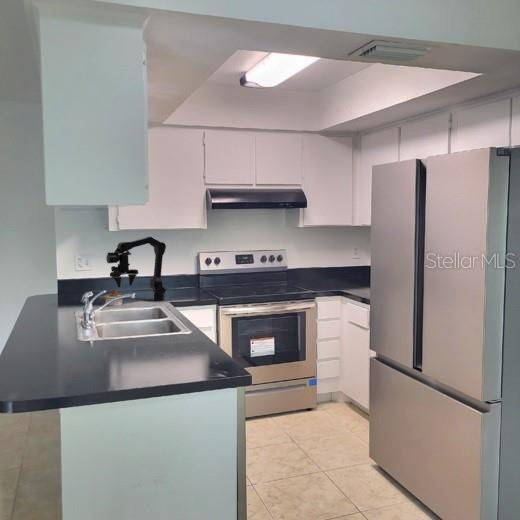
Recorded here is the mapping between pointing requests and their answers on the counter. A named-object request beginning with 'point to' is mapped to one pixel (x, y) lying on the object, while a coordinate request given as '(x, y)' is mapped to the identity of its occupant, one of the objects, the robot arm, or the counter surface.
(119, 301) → the bowl
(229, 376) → the counter surface
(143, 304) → the mat
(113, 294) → the lid
